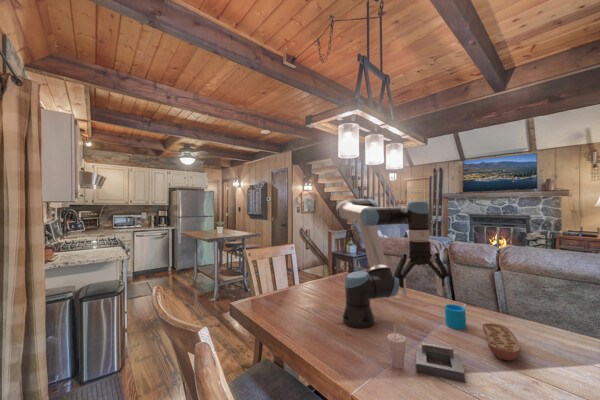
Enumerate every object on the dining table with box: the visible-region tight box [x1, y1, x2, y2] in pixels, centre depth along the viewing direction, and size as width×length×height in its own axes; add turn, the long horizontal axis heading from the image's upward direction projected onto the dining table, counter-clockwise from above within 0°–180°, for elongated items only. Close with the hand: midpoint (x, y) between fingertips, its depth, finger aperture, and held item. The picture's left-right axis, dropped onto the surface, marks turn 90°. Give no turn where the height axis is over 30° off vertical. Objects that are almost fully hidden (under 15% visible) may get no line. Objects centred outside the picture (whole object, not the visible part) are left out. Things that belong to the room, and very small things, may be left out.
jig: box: [415, 342, 466, 384], centre depth 89 cm, size 14×11×5 cm
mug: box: [444, 304, 467, 330], centre depth 121 cm, size 12×8×8 cm
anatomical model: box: [482, 323, 521, 361], centre depth 99 cm, size 23×10×5 cm, turn 151°
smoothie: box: [386, 324, 408, 369], centre depth 91 cm, size 6×6×14 cm
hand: (421, 295), depth 100 cm, fingers open, 13 cm apart
